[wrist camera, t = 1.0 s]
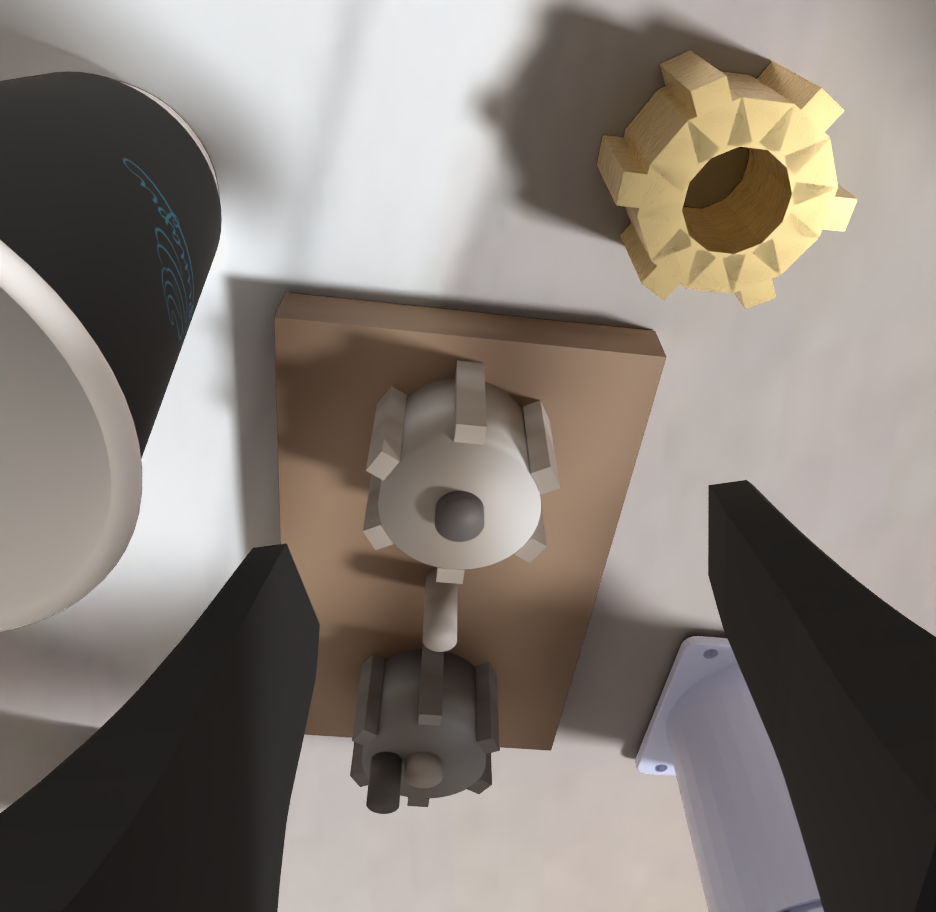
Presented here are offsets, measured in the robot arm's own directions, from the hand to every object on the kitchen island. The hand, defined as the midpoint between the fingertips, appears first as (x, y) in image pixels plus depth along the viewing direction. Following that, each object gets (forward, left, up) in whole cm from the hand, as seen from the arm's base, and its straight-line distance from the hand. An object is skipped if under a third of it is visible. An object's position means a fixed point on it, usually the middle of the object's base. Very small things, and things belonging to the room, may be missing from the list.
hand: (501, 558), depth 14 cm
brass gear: (-5, -5, -10) cm, 12 cm away
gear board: (0, +8, -10) cm, 13 cm away
